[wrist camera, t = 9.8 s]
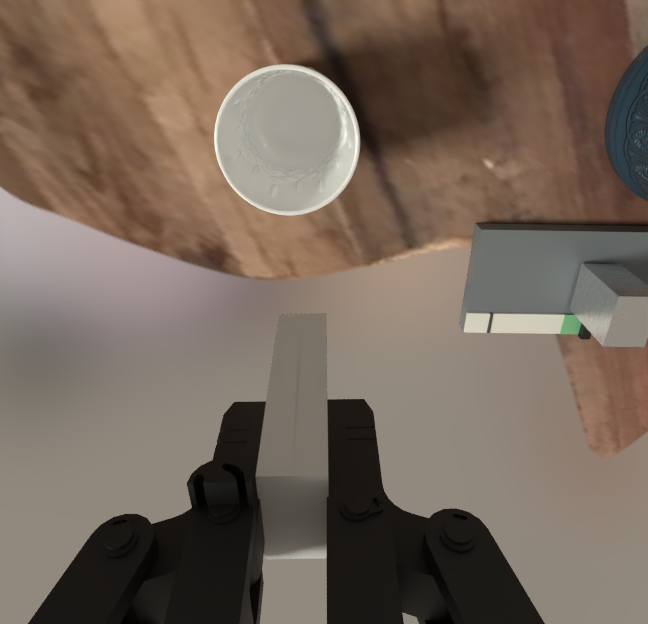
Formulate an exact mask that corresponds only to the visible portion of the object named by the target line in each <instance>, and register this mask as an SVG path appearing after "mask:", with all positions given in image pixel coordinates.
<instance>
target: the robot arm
mask: <svg viewBox="0 0 648 624" xmlns="http://www.w3.org/2000/svg"><path fill="white" fill-rule="evenodd" d="M187 486H188V491H189V496H190V500H191V505H192V508H191V509H190V510H188V511H187V512H185V513H183V514H181V515H179V516H176V517H174V518H171V519H167V520H164V521H161V522H157V523H154V524H151V523H150V522H149V520H148V519H147V518H145V517H143V516H141V515H138V514H124V515H120V516H117V517H113V518H112V519H110V520H108V521H106V522H105V523H103V524H102V525H100V526H99V527H98V528H97V529H96V530H95V532H94V533H93V534H92V535H91V536H90V538H89V539H88V540H87V542H86V543H85V544H84V546H83V547H82V549H81V550H80V551H79V553H78V554H77V556H76V557H75V558H74V560H73V561H72V563H71V564H70V565H69V567H68V568H67V570H66V571H65V572H64V574H63V576H62V577H61V578H60V580H59V581H58V582H57V584H56V585H55V587H54V588H53V589H52V591H51V592H50V594H49V595H48V596H47V598H46V599H45V601H44V602H43V603H42V605H41V606H40V608H39V609H38V611H37V612H36V613H35V615H34V616H33V617H32V619H31V620H30V622H29V623H28V624H260V614H261V603H262V594H263V584H264V583H263V574H262V564H263V554H265V559H309V558H310V559H313V558H327V624H404V623H403V615H402V612H403V613H406V614H409V615H412V616H415V617H417V619H418V622H419V624H545V623H544V622H543V620H542V618H541V617H540V615H539V613H538V612H537V610H536V608H535V607H534V605H533V603H532V602H531V600H530V598H529V597H528V595H527V593H526V592H525V590H524V588H523V587H522V585H521V583H520V582H519V580H518V578H517V577H516V575H515V573H514V572H513V570H512V568H511V567H510V565H509V563H508V562H507V560H506V558H505V557H504V555H503V553H502V552H501V550H500V548H499V547H498V545H497V543H496V542H495V540H494V538H493V537H492V535H491V533H490V532H489V530H488V528H487V527H486V526H485V525H484V524H483V523H482V521H481V520H480V519H478V518H477V517H475V516H474V515H472V514H471V513H469V512H466V511H463V510H459V509H443V510H441V511H438V512H436V513H434V514H433V515H432V516H431V517H430V518H425V517H422V516H418V515H415V514H411V513H409V512H406V511H403V510H402V509H400V508H399V507H397V506H396V505H394V504H393V503H392V502H391V501H390V500H389V499H388V497H387V495H386V494H385V492H384V489H383V485H382V478H381V470H380V462H379V454H378V446H377V438H376V430H375V422H374V415H373V411H372V410H371V408H370V407H369V405H368V404H367V403H366V401H365V400H364V399H347V400H346V399H342V400H338V399H337V400H327V336H326V313H322V314H279V315H278V322H277V330H276V337H275V343H274V351H273V357H272V365H271V371H270V378H269V385H268V392H267V400H266V402H234V403H233V404H232V406H231V407H230V408H229V409H228V410H227V412H226V413H225V414H224V415H223V420H222V424H221V428H220V433H219V436H218V440H217V445H216V448H215V452H214V457H213V460H212V461H210V462H208V463H206V464H204V465H202V466H200V467H199V468H198V469H197V470H195V471H194V472H193V473H192V475H191V476H190V478H189V480H188V482H187Z"/></svg>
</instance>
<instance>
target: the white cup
mask: <svg viewBox="0 0 648 624" xmlns="http://www.w3.org/2000/svg"><path fill="white" fill-rule="evenodd" d="M214 142H215V150H216V155H217V159H218V162H219V165H220V168H221V170H222V172H223V174H224V176H225V178H226V179H227V181H228V182H229V184H230V185H231V186H232V188H233V189H234V190H235V191H236V192H237V193H238V194H239V195H240V196H241V197H242V198H243V199H245V200H246V201H247V202H249V203H250V204H252V205H254V206H255V207H257V208H259V209H262V210H264V211H267V212H270V213H274V214H279V215H300V214H305V213H309V212H312V211H315V210H317V209H320V208H322V207H323V206H325V205H327V204H328V203H330V202H331V201H333V200H334V199H335V198H336V197H337V196H338V195H339V194H340V193H341V192H342V191H343V190H344V189H345V187H346V186H347V184H348V183H349V181H350V180H351V178H352V176H353V174H354V171H355V169H356V166H357V163H358V158H359V153H360V132H359V126H358V122H357V118H356V115H355V113H354V110H353V108H352V106H351V104H350V102H349V101H348V99H347V98H346V96H345V95H344V94H343V92H342V91H341V90H340V89H339V88H338V87H337V85H336V84H335V83H334V82H333V81H332V80H331V79H329V78H328V77H327V76H326V75H324V74H323V73H321V72H319V71H317V70H315V69H313V68H311V67H308V66H304V65H299V64H279V65H272V66H267V67H264V68H261V69H258V70H256V71H254V72H252V73H250V74H249V75H247V76H245V77H244V78H243V79H241V80H240V81H239V82H238V83H237V84H236V85H235V86H234V87H233V88H232V89H231V90H230V92H229V93H228V95H227V96H226V98H225V99H224V101H223V103H222V105H221V107H220V110H219V112H218V116H217V119H216V124H215V133H214Z"/></svg>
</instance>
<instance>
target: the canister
mask: <svg viewBox="0 0 648 624" xmlns="http://www.w3.org/2000/svg"><path fill="white" fill-rule="evenodd" d="M605 142H606V149H607V154H608V157H609V160H610V162H611V165H612V167H613V169H614V170H615V172H616V173H617V175H618V176H619V177H620V178H621V180H622V181H623V182H624V184H625V185H626V186H627V187H628V188H629V189H630V190H631V191H632V192H634V193H635V194H636V195H638V196H639V197H641V198H643V199H645V200H646V201H648V46H647V47H645V48H644V50H643V51H642V52H641V53H640V54H639V55H638V56H637V57H636V58H635V60H634V61H633V62H632V63H631V65H630V66H629V67H628V69H627V70H626V72H625V73H624V75H623V77H622V78H621V80H620V82H619V84H618V86H617V88H616V90H615V92H614V95H613V97H612V100H611V103H610V106H609V109H608V113H607V119H606V126H605Z"/></svg>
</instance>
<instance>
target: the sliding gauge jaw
mask: <svg viewBox="0 0 648 624" xmlns="http://www.w3.org/2000/svg"><path fill="white" fill-rule="evenodd" d="M569 309H570V310H571V311H572V313H573V314H574V315H575V316H576V317H577V318H578V319H579V320H580V322H581V326H580V330H579V333H578V336H579V337H580V339H590V336H591V334H592V335H593V336H594V337H595V338H596V339H597V341H598V342H599V343H600V344H601V345H602V346H610V347H645V344H646V341H647V338H648V285H647V284H645V283H644V282H643V281H641V280H640V279H639V278H638V277H636V276H635V275H634V274H632V273H631V272H630V271H629V270H627V269H626V268H625V267H623V266H622V265H621V264H584V263H582V265H581V268H580V272H579V276H578V279H577V283H576V286H575V290H574V294H573V297H572V301H571V305H570V308H569Z"/></svg>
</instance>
